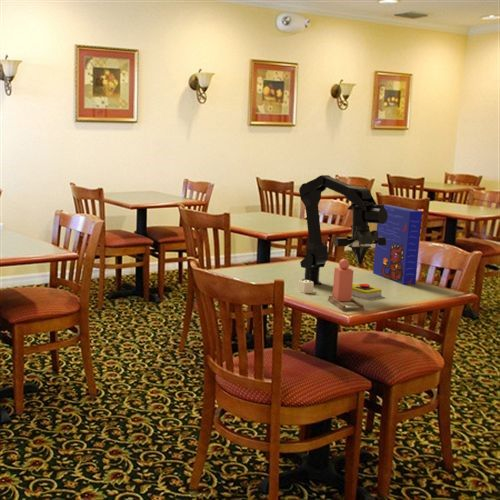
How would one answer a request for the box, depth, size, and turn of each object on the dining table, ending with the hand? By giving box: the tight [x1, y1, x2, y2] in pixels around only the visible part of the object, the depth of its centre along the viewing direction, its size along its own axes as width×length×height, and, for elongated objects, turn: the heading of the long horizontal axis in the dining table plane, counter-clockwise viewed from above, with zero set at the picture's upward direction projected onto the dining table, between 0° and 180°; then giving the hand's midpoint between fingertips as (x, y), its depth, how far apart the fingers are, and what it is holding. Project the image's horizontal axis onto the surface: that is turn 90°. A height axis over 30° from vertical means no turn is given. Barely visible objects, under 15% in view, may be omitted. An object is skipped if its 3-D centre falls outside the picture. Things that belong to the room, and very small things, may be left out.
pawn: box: [331, 258, 354, 301], centre depth 234 cm, size 5×5×15 cm
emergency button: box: [351, 283, 385, 301], centre depth 250 cm, size 9×4×15 cm
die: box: [297, 279, 315, 294], centre depth 249 cm, size 4×4×4 cm
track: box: [327, 295, 365, 312], centre depth 232 cm, size 14×8×2 cm, turn 15°
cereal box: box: [372, 204, 423, 286], centre depth 278 cm, size 22×6×30 cm, turn 23°
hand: (359, 264), depth 246 cm, fingers closed
